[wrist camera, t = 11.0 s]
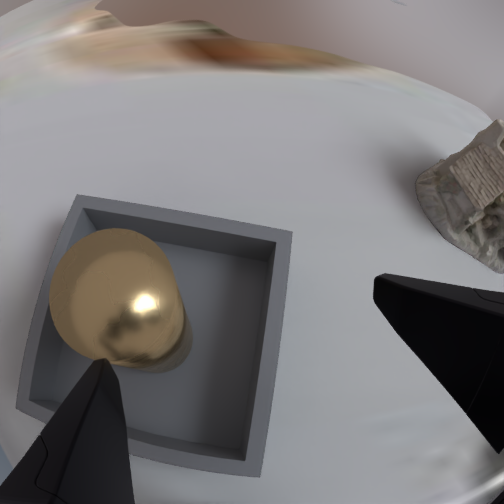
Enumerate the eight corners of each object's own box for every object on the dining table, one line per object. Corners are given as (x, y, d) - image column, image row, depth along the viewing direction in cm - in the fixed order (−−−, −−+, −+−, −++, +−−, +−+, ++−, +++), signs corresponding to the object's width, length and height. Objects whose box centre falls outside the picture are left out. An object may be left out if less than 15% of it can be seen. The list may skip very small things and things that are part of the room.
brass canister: (185, 380, 20) (159, 377, 10) (114, 362, 19) (35, 339, 9) (199, 308, 22) (189, 240, 12) (130, 294, 22) (73, 219, 12)
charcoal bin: (250, 460, 19) (259, 477, 15) (45, 407, 18) (15, 408, 14) (279, 257, 25) (292, 231, 21) (94, 223, 24) (76, 194, 20)
